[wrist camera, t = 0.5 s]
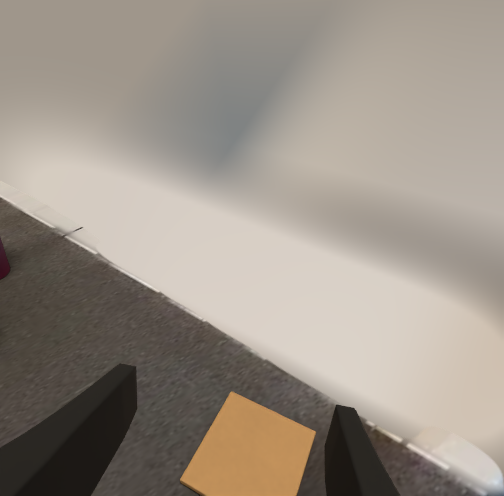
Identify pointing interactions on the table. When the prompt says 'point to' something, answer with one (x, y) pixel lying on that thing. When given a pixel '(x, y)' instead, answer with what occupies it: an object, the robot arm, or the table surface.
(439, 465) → the table surface
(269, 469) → the mat
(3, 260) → the cup
